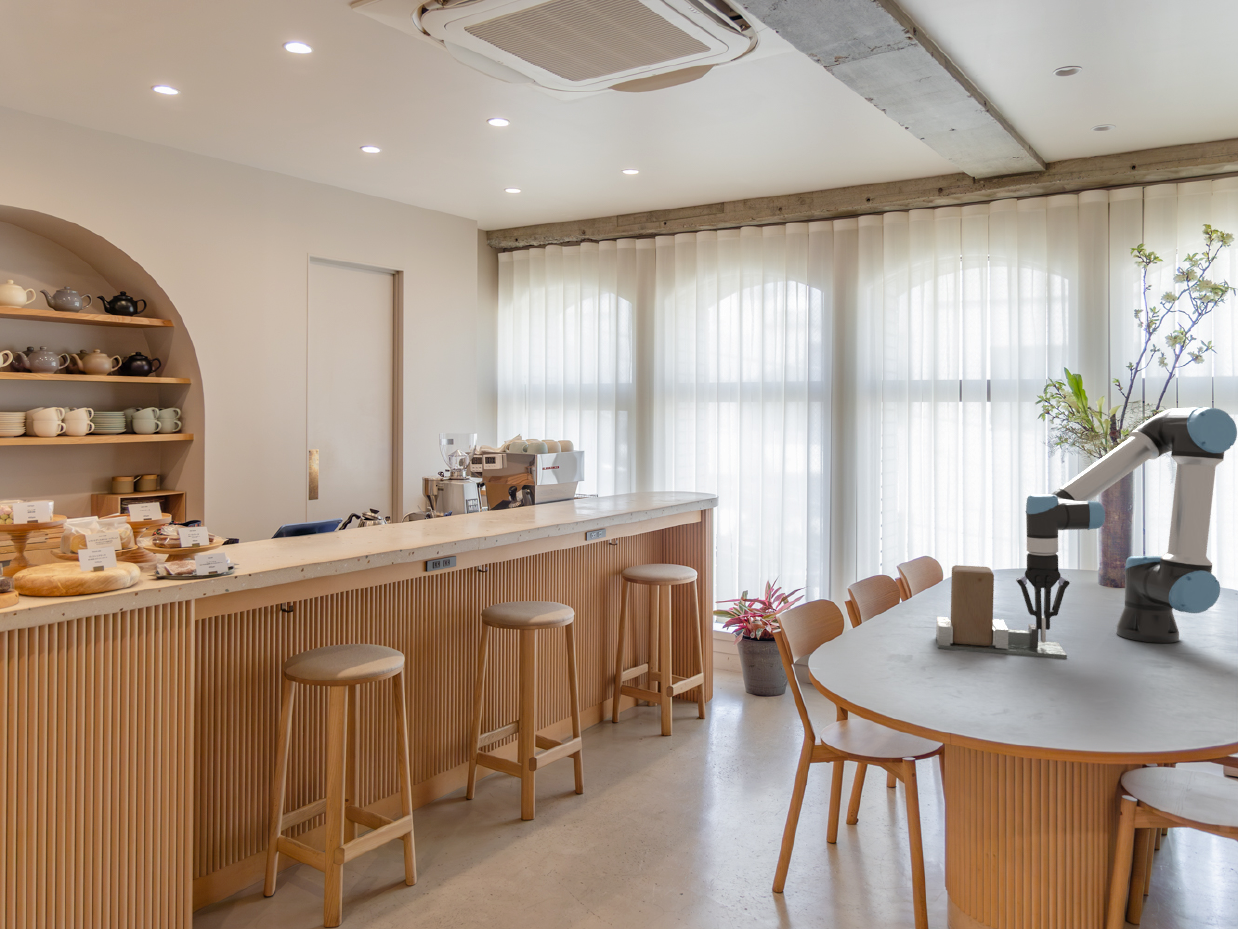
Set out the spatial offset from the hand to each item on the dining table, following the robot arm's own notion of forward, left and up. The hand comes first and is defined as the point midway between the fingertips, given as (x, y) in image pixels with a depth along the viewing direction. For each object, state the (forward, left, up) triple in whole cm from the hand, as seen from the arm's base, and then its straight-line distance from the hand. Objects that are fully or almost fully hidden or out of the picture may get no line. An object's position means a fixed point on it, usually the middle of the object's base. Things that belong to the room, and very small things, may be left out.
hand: (1043, 641), depth 230 cm
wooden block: (+18, -1, -2) cm, 18 cm away
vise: (+11, 0, -3) cm, 11 cm away
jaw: (+7, 0, -1) cm, 7 cm away
